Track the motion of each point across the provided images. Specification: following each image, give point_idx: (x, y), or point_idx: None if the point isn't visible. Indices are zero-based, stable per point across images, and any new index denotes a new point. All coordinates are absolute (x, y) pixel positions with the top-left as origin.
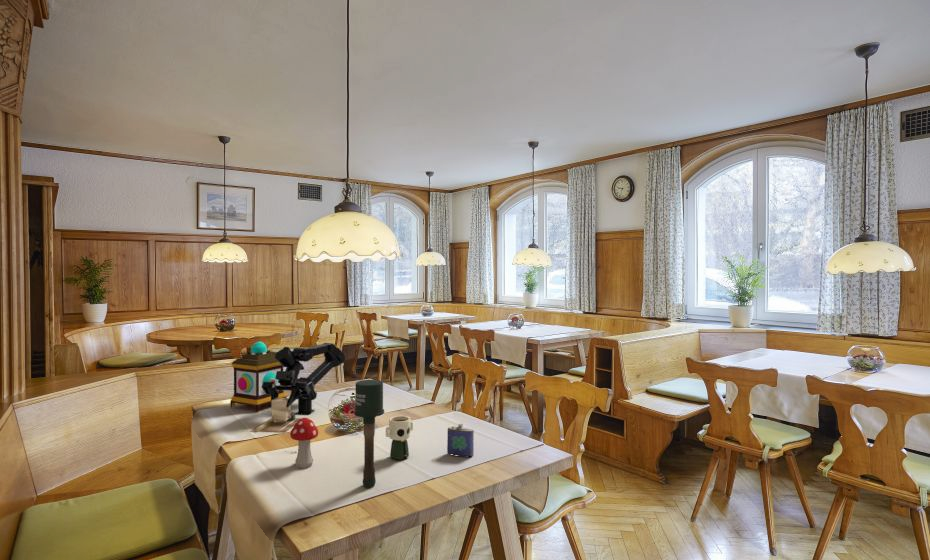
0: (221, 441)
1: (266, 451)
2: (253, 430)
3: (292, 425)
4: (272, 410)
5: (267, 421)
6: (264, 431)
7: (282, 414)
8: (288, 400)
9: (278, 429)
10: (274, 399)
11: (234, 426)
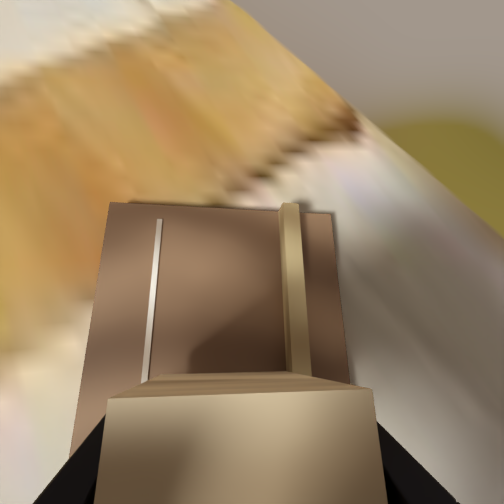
0: (384, 137)
1: (127, 34)
2: (318, 232)
3: (103, 352)
4: (304, 378)
5: (309, 356)
6: (245, 217)
7: (190, 376)
8: (85, 486)
9: (175, 258)
10: (361, 464)
11: (495, 352)
